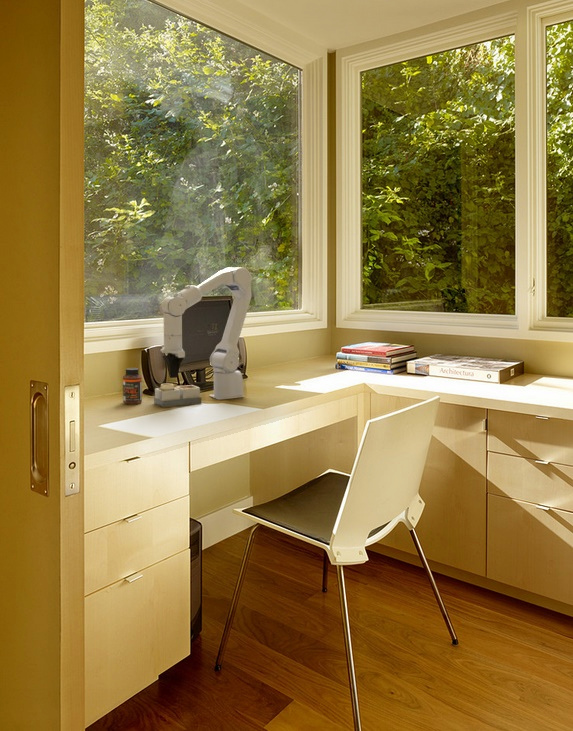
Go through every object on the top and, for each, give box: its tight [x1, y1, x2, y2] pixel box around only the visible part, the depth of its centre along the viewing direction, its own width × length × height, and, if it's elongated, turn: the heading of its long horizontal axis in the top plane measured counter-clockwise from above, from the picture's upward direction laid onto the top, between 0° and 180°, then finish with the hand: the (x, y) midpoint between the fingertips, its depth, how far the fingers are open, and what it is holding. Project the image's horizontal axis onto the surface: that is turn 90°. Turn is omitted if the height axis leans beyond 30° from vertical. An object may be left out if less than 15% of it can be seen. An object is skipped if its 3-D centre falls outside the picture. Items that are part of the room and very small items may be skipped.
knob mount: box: [153, 384, 202, 408], centre depth 201 cm, size 13×8×5 cm, turn 122°
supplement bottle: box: [122, 367, 143, 406], centre depth 200 cm, size 6×6×11 cm
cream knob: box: [160, 382, 175, 391], centre depth 199 cm, size 4×4×2 cm
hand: (173, 377), depth 199 cm, fingers closed
